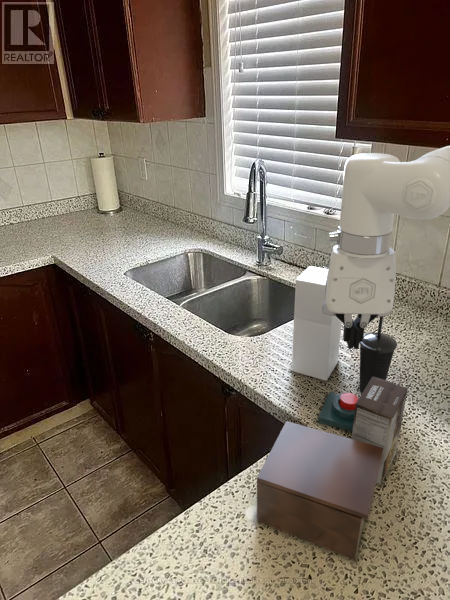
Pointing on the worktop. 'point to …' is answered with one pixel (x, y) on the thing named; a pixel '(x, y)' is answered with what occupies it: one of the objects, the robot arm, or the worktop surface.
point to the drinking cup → (375, 356)
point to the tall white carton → (314, 327)
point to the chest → (309, 520)
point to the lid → (323, 468)
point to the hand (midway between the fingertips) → (352, 344)
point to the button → (348, 401)
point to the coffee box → (380, 419)
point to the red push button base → (336, 413)
